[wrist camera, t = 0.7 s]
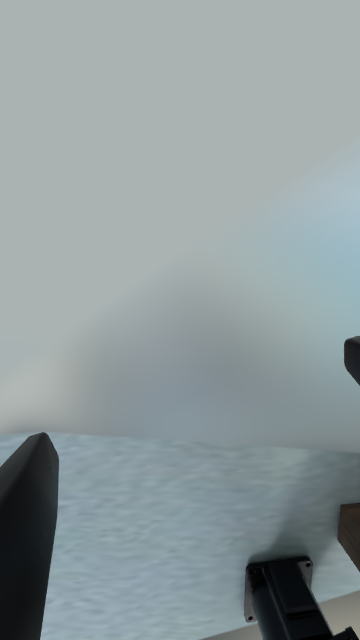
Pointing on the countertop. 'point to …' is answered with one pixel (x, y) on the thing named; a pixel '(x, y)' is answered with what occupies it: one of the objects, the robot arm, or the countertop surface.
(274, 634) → the robot arm
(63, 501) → the countertop surface
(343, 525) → the knife block
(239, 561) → the countertop surface
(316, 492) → the countertop surface
